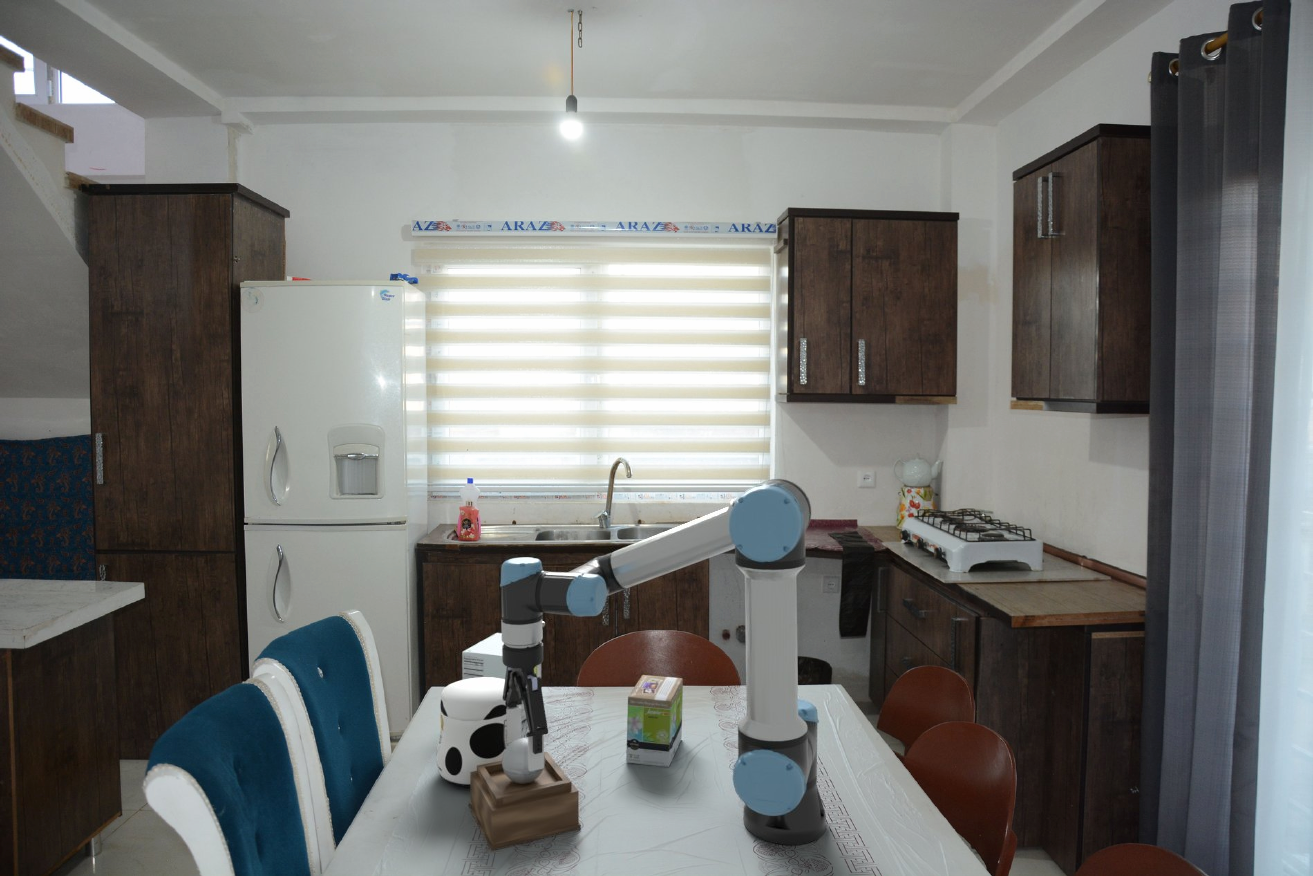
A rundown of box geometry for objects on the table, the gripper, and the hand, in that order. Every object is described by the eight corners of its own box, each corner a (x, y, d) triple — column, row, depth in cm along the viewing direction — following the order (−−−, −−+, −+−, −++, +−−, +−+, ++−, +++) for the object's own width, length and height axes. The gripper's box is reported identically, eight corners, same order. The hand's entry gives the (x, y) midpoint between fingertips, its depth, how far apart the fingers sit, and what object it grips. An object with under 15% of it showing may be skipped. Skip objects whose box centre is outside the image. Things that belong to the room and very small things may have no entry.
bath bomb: (553, 782, 152) (553, 740, 151) (517, 796, 146) (517, 753, 146) (529, 767, 158) (529, 727, 157) (493, 781, 152) (493, 739, 152)
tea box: (671, 768, 173) (671, 700, 172) (625, 763, 175) (625, 696, 174) (682, 739, 188) (683, 676, 187) (640, 735, 190) (640, 673, 189)
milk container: (432, 763, 175) (432, 681, 174) (513, 751, 181) (512, 671, 180) (441, 800, 159) (440, 710, 158) (529, 786, 165) (528, 699, 164)
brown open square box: (580, 828, 149) (580, 783, 148) (491, 851, 141) (491, 803, 141) (550, 789, 163) (550, 747, 163) (468, 807, 156) (468, 764, 156)
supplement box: (510, 733, 190) (510, 657, 189) (461, 726, 194) (460, 651, 193) (543, 706, 207) (543, 636, 206) (496, 700, 211) (496, 631, 210)
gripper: (564, 658, 141) (566, 777, 142) (522, 623, 163) (524, 726, 164) (523, 664, 138) (525, 787, 139) (485, 628, 160) (487, 733, 161)
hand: (524, 754), depth 152 cm, fingers open, 13 cm apart
